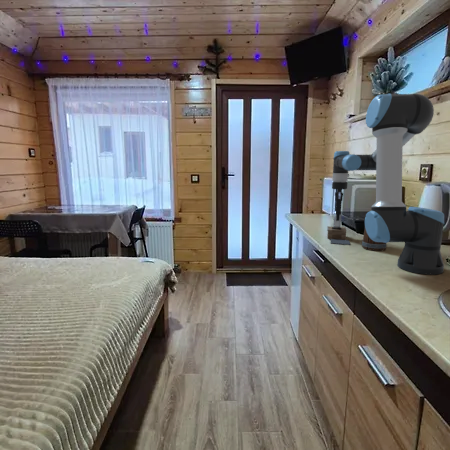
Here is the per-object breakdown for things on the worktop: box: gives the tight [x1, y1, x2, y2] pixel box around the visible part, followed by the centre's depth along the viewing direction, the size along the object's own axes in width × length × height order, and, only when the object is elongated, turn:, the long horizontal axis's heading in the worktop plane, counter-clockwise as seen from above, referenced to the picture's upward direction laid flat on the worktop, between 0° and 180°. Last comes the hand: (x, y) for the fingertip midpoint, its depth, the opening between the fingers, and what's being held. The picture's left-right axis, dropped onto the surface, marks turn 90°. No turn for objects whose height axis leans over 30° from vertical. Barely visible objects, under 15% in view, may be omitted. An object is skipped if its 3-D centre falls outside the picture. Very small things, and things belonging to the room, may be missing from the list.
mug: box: [361, 227, 387, 252], centre depth 153 cm, size 16×11×15 cm
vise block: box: [326, 226, 347, 240], centre depth 173 cm, size 9×9×5 cm
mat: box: [330, 239, 351, 246], centre depth 163 cm, size 9×9×1 cm
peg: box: [332, 210, 342, 230], centre depth 172 cm, size 4×4×14 cm
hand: (337, 225), depth 172 cm, fingers closed on peg, 3 cm apart
